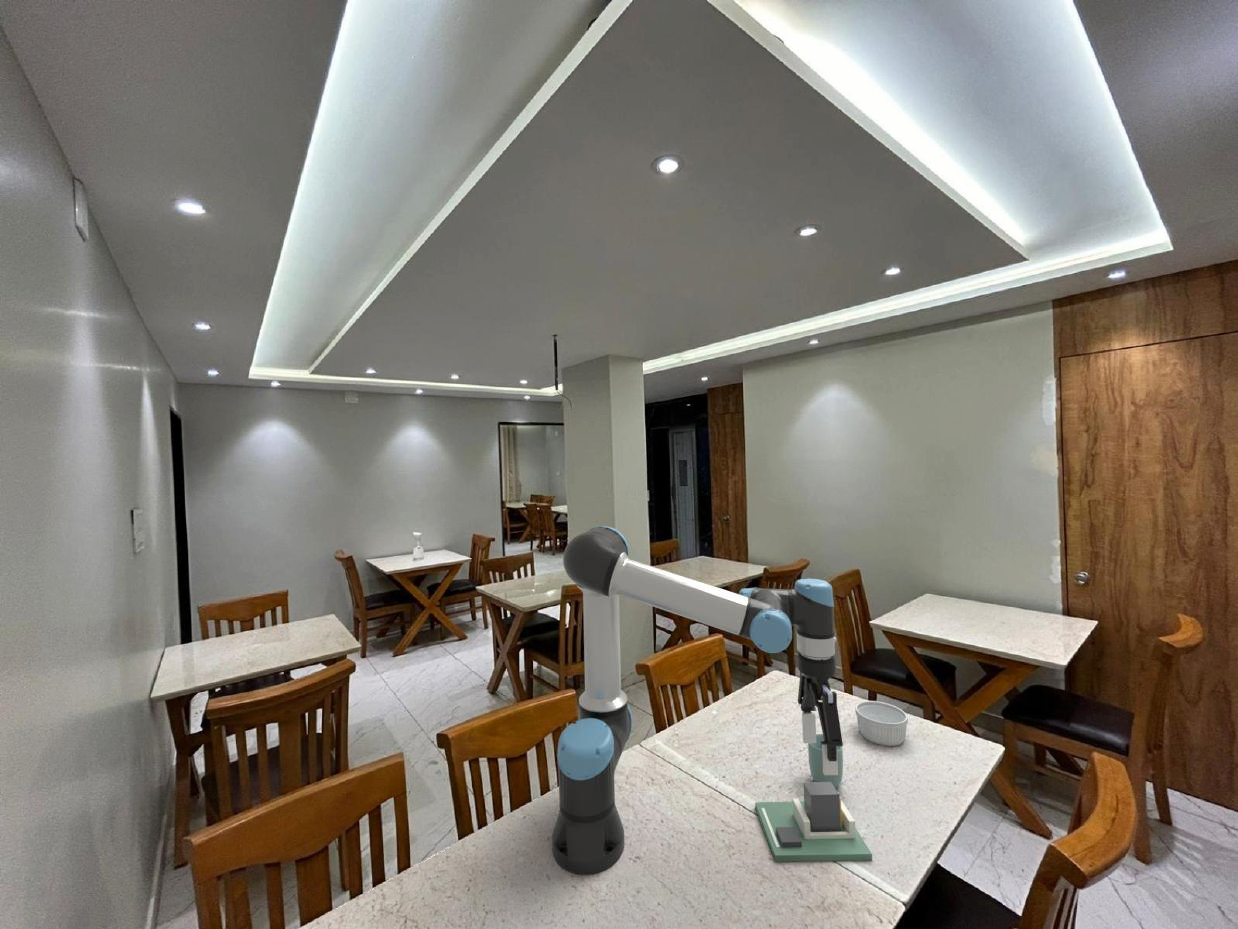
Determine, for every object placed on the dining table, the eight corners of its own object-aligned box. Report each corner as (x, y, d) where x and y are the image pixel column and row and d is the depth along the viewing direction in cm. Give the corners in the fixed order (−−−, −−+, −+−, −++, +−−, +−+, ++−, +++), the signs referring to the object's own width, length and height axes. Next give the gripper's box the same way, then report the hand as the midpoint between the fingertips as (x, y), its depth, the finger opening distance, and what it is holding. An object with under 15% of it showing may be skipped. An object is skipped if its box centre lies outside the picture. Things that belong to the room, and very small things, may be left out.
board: (775, 861, 94) (774, 837, 94) (755, 807, 109) (754, 787, 109) (872, 860, 94) (871, 836, 94) (838, 806, 109) (837, 785, 109)
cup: (847, 795, 112) (846, 753, 112) (812, 792, 114) (811, 750, 114) (839, 774, 120) (837, 734, 120) (806, 771, 122) (805, 732, 122)
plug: (812, 833, 100) (810, 795, 100) (804, 819, 104) (803, 782, 104) (843, 832, 100) (842, 794, 100) (835, 818, 104) (833, 781, 104)
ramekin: (860, 719, 146) (859, 696, 146) (910, 732, 138) (909, 707, 138) (852, 739, 135) (851, 715, 135) (906, 755, 127) (905, 729, 127)
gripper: (859, 676, 90) (863, 793, 90) (813, 634, 113) (816, 727, 113) (820, 677, 91) (823, 794, 90) (781, 635, 113) (784, 728, 113)
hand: (819, 757), depth 102 cm, fingers open, 10 cm apart
